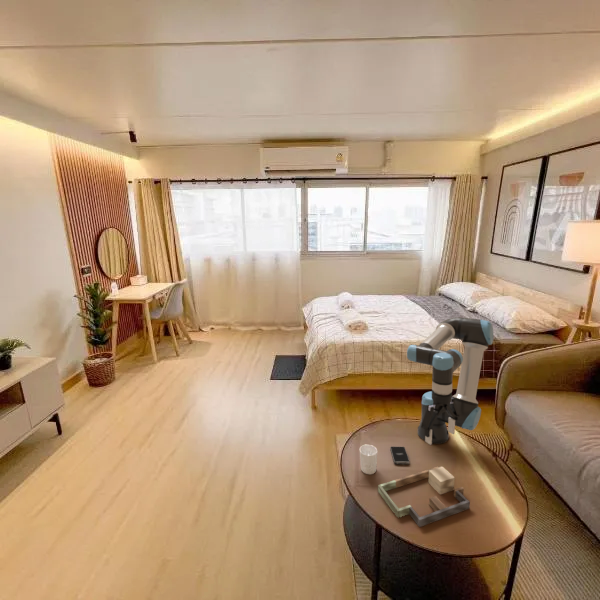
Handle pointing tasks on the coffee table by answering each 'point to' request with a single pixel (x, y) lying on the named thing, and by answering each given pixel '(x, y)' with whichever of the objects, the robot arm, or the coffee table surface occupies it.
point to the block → (441, 480)
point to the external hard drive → (399, 455)
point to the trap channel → (434, 502)
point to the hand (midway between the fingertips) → (440, 437)
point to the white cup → (368, 458)
